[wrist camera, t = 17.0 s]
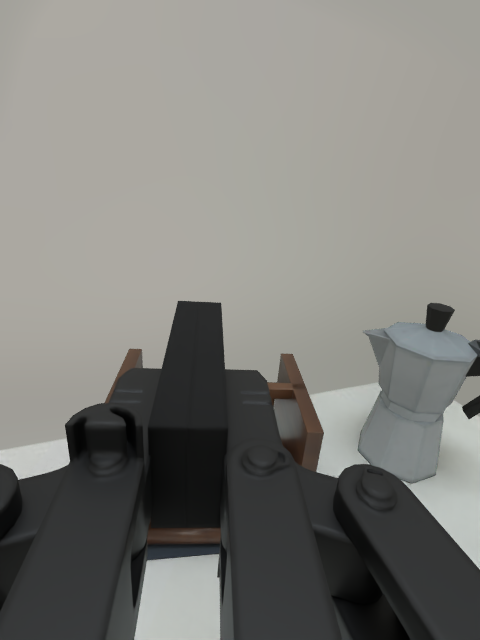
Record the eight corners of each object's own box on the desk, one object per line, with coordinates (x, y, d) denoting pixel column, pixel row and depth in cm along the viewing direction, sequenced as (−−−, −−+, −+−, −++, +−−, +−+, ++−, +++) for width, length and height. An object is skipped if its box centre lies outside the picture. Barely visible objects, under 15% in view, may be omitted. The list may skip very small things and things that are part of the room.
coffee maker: (333, 459, 40) (367, 306, 33) (344, 414, 48) (374, 281, 41) (489, 511, 35) (568, 346, 28) (474, 452, 43) (534, 309, 36)
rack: (103, 550, 29) (90, 430, 25) (134, 445, 40) (128, 348, 35) (302, 547, 31) (325, 433, 26) (280, 446, 41) (293, 353, 37)
